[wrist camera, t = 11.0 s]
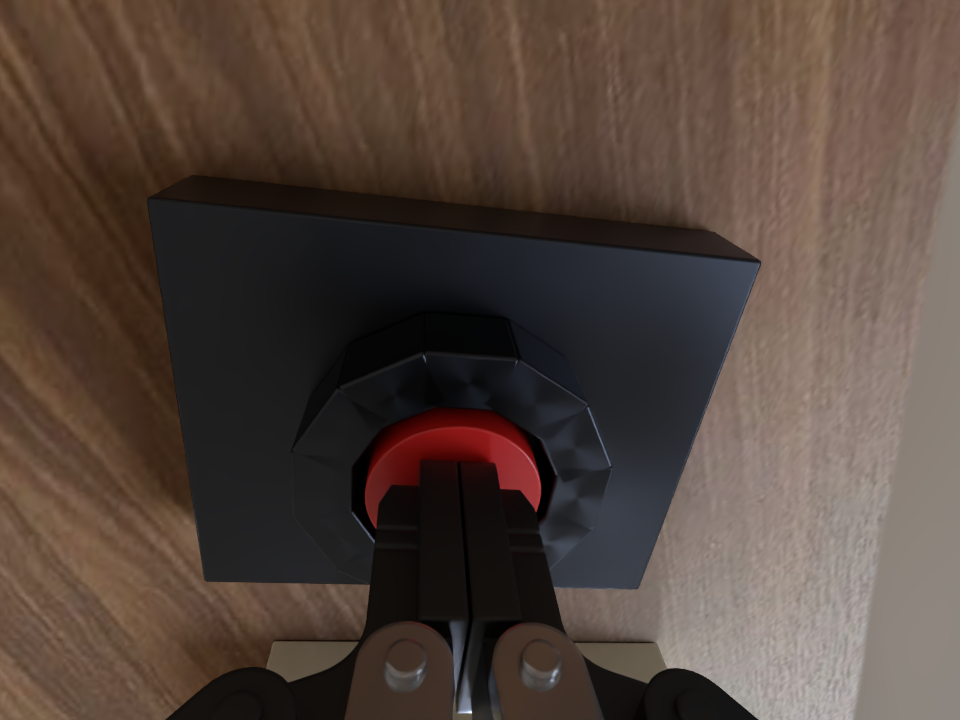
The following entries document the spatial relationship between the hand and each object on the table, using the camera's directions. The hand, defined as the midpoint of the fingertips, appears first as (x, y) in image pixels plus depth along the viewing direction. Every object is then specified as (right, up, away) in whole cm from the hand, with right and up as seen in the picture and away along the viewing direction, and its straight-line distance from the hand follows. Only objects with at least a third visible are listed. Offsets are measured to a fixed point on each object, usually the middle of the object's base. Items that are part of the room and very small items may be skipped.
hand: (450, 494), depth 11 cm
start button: (0, +1, +2) cm, 2 cm away
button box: (0, +2, +4) cm, 4 cm away
